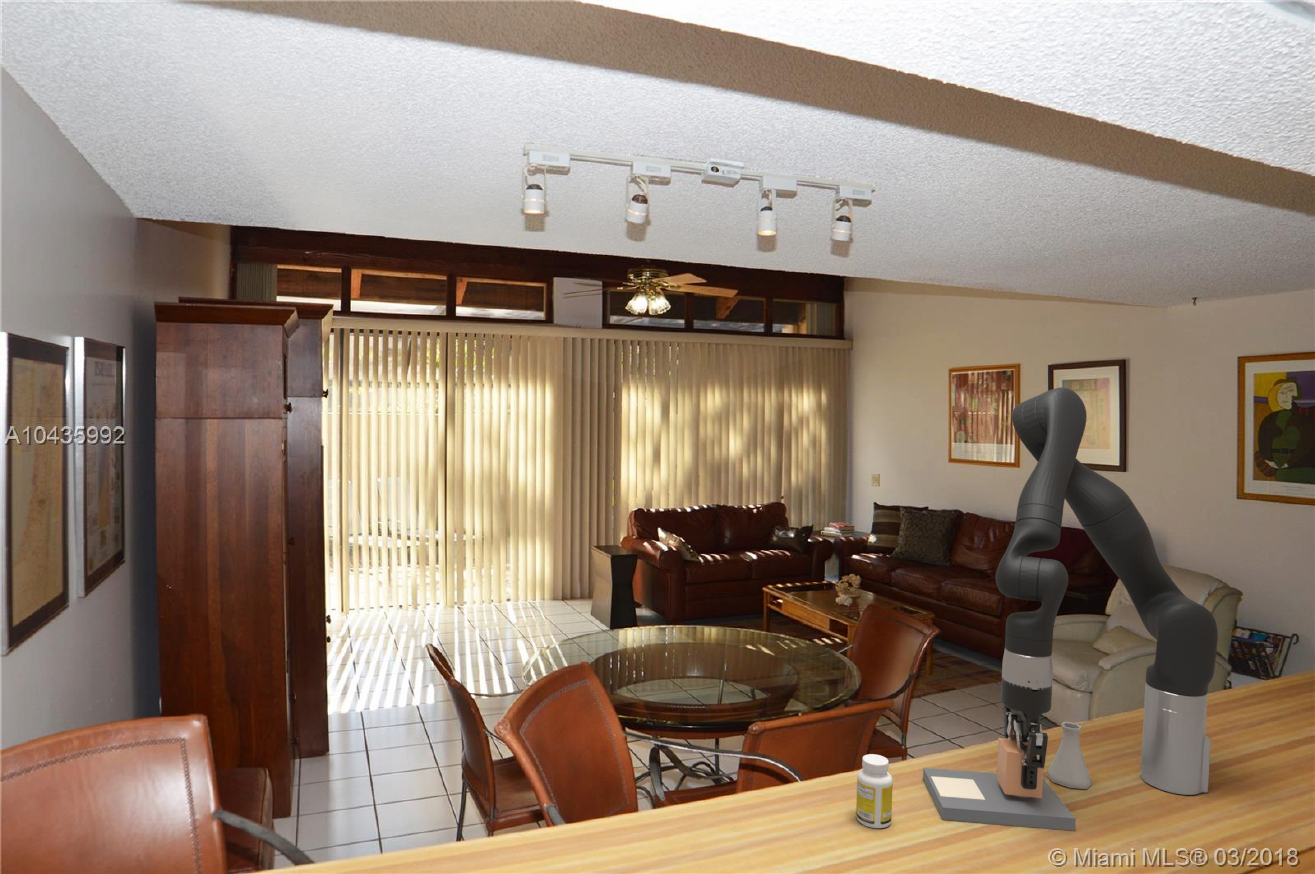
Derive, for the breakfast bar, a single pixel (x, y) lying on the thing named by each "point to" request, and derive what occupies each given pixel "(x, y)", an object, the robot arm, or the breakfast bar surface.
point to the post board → (993, 801)
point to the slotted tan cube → (1014, 770)
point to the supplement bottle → (874, 792)
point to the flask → (1069, 760)
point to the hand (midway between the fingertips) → (1022, 778)
